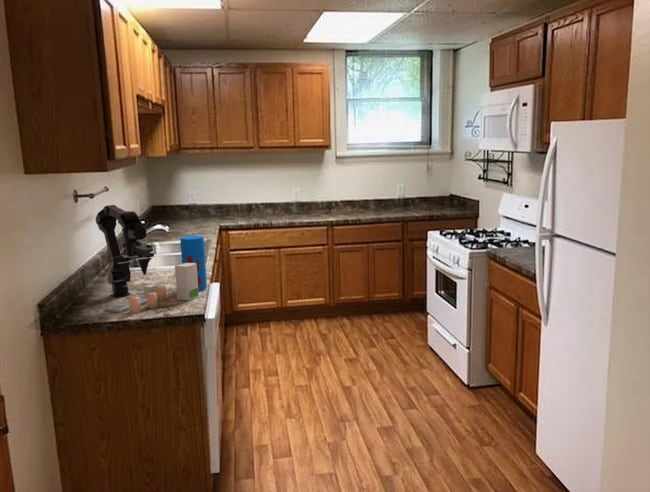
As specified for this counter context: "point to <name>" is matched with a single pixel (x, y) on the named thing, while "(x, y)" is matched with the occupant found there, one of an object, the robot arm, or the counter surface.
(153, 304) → the salmon pink egg
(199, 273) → the thermos
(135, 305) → the peach colored egg
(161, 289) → the glossy pink ovoid
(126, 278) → the robot arm
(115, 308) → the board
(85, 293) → the counter surface
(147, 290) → the pale green block
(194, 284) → the skincare box
